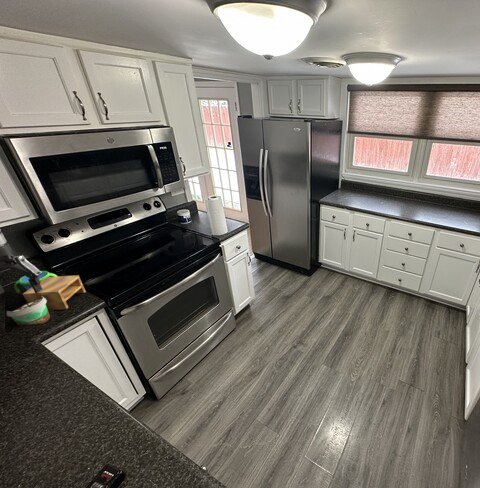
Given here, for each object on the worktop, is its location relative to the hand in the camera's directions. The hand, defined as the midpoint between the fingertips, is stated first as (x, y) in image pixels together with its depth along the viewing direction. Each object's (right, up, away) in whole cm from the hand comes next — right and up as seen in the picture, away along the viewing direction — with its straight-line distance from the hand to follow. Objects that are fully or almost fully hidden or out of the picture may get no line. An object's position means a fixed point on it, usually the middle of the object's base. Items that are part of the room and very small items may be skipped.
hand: (20, 292), depth 108 cm
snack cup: (-20, -6, +27) cm, 34 cm away
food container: (-1, -15, +8) cm, 17 cm away
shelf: (-5, -8, +22) cm, 24 cm away
